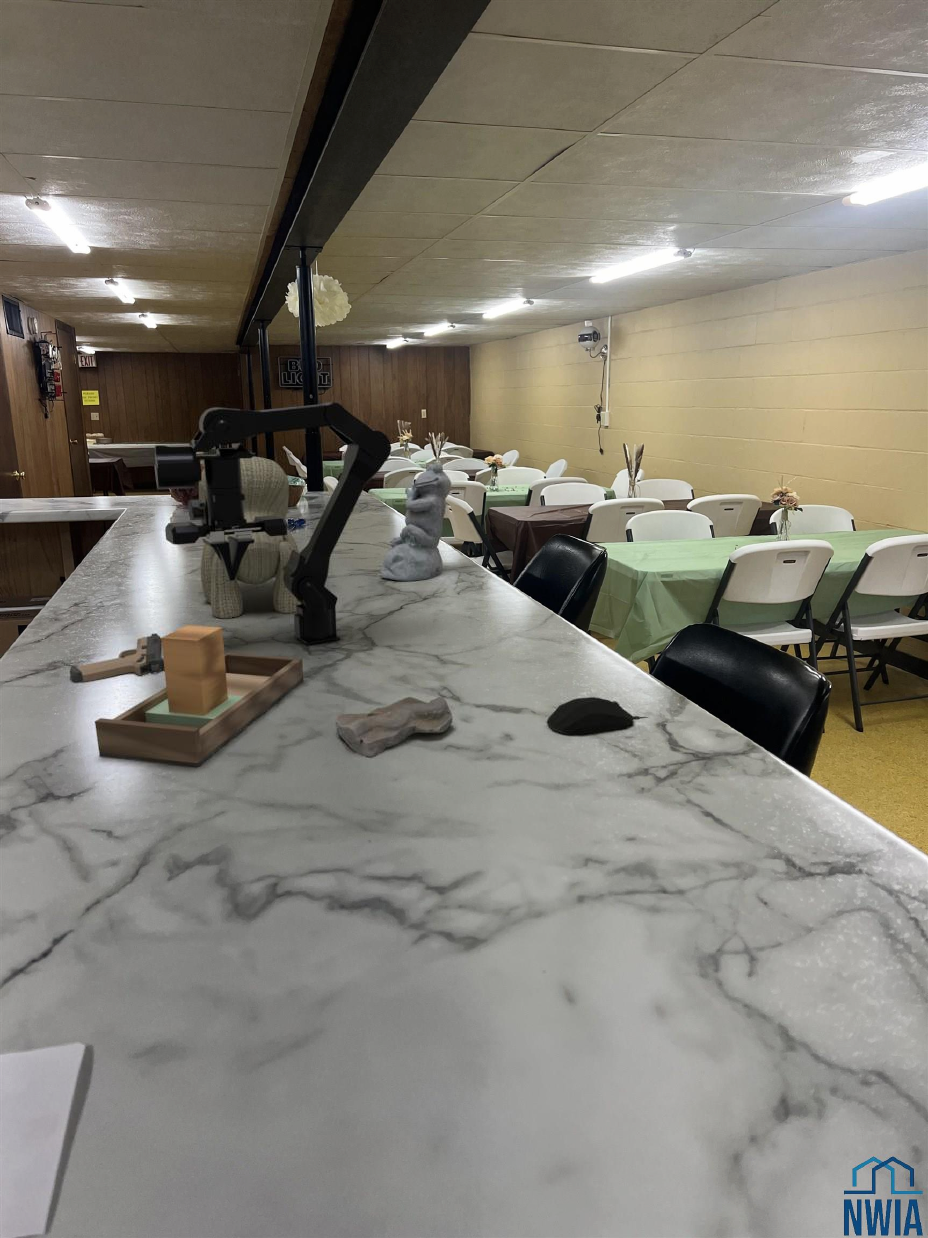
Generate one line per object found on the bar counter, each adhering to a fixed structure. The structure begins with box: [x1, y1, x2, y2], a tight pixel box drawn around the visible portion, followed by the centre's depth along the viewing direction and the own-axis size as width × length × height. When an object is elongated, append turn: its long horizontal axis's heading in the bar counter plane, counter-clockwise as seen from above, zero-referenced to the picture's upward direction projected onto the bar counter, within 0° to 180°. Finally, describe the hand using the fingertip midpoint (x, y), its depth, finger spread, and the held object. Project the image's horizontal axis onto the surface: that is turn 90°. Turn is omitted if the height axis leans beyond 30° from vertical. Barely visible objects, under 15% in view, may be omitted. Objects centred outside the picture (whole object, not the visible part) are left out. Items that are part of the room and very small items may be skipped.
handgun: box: [69, 633, 165, 683], centre depth 127 cm, size 19×3×14 cm
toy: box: [198, 456, 302, 619], centre depth 161 cm, size 21×30×30 cm
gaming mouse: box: [546, 696, 649, 737], centre depth 102 cm, size 6×15×4 cm, turn 107°
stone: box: [334, 696, 453, 758], centre depth 99 cm, size 15×10×4 cm, turn 124°
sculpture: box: [379, 461, 452, 582], centre depth 187 cm, size 18×16×30 cm
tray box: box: [94, 652, 304, 768], centre depth 105 cm, size 30×13×4 cm, turn 168°
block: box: [161, 624, 228, 716], centre depth 100 cm, size 6×5×10 cm
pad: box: [145, 695, 244, 730], centre depth 102 cm, size 8×11×2 cm
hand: (231, 580), depth 130 cm, fingers closed
